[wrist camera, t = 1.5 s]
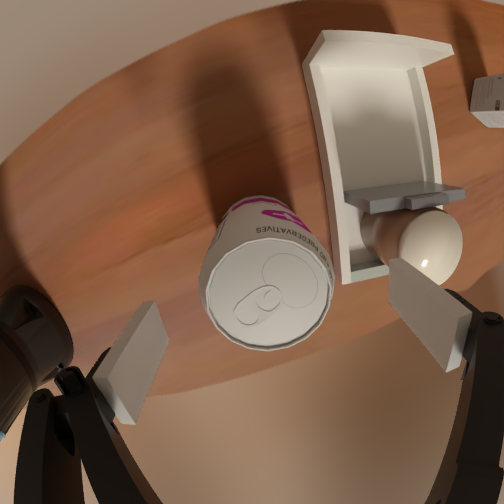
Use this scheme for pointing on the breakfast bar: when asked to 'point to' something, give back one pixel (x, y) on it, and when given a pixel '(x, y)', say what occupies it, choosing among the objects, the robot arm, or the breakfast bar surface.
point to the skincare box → (489, 100)
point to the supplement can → (265, 276)
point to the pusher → (403, 196)
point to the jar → (415, 239)
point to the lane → (370, 127)
